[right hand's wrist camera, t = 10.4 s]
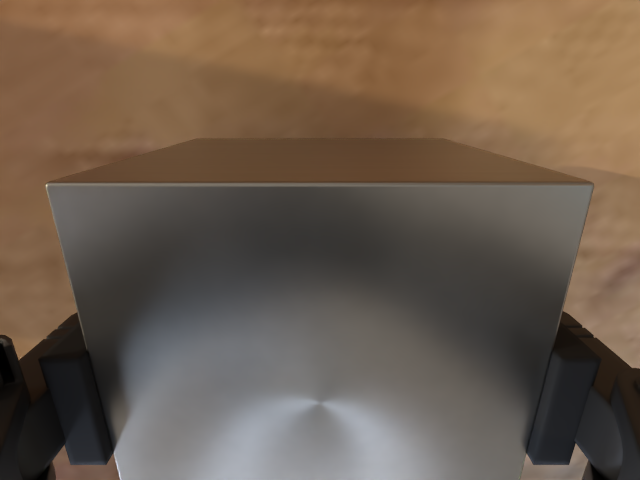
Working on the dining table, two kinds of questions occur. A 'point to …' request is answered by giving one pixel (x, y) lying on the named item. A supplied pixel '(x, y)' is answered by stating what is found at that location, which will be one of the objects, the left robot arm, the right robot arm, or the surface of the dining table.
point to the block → (319, 305)
